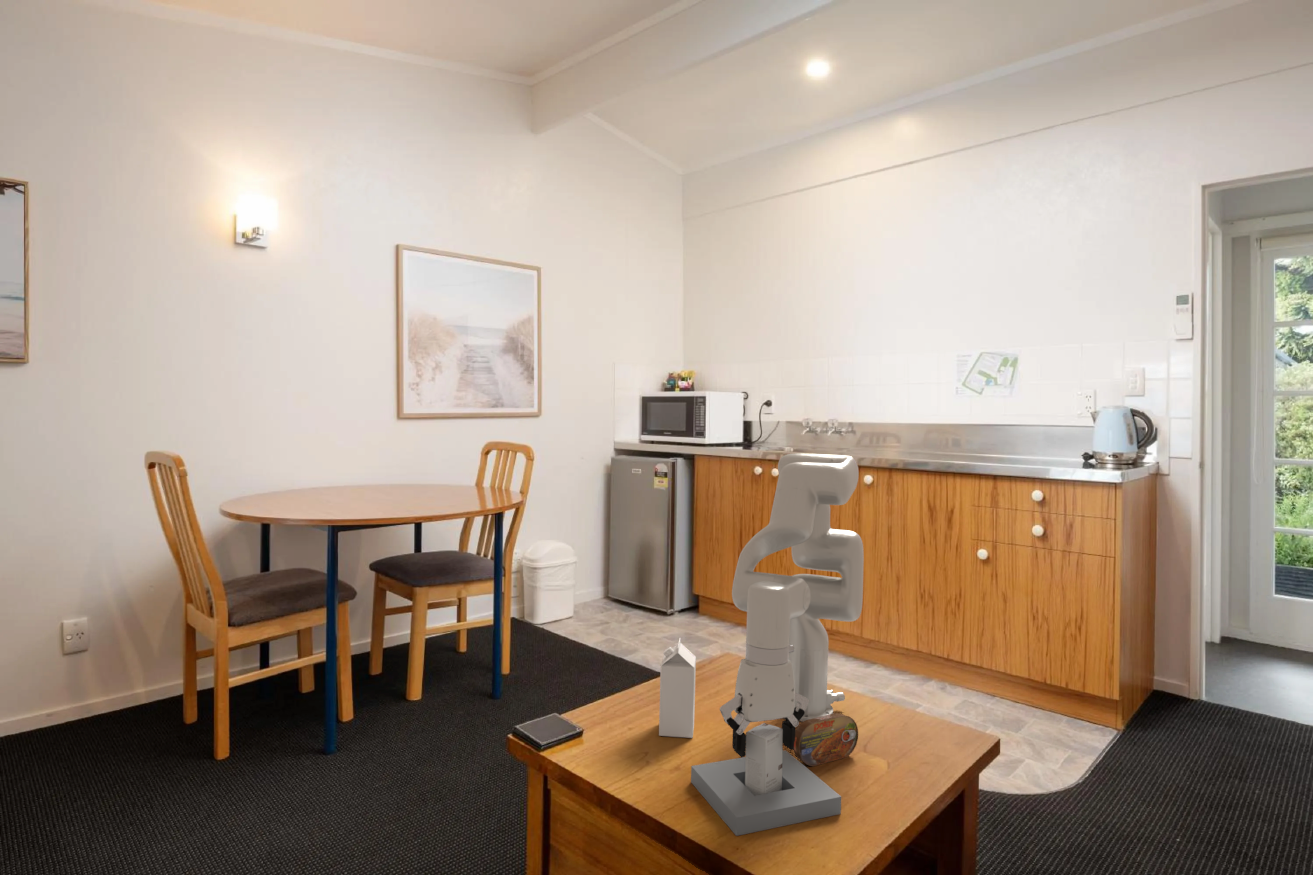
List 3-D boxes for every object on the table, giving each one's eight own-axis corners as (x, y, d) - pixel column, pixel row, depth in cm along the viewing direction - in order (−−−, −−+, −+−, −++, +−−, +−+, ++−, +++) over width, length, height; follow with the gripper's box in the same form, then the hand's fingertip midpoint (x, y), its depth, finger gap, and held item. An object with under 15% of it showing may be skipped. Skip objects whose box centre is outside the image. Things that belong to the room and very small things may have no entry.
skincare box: (764, 809, 125) (766, 739, 124) (742, 799, 128) (744, 731, 127) (783, 795, 129) (785, 728, 129) (761, 786, 132) (763, 721, 132)
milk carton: (694, 724, 158) (696, 638, 158) (692, 738, 151) (694, 648, 150) (661, 722, 159) (663, 636, 158) (658, 736, 152) (660, 646, 151)
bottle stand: (785, 765, 140) (785, 750, 140) (840, 813, 124) (841, 796, 124) (690, 781, 133) (691, 765, 133) (736, 835, 116) (736, 817, 116)
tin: (799, 770, 139) (800, 726, 139) (789, 762, 142) (790, 720, 141) (858, 754, 146) (860, 713, 146) (848, 748, 149) (849, 707, 148)
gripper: (797, 643, 134) (794, 735, 134) (713, 651, 128) (710, 747, 128) (820, 655, 127) (817, 752, 127) (732, 664, 121) (729, 766, 121)
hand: (763, 749), depth 128 cm, fingers open, 9 cm apart
